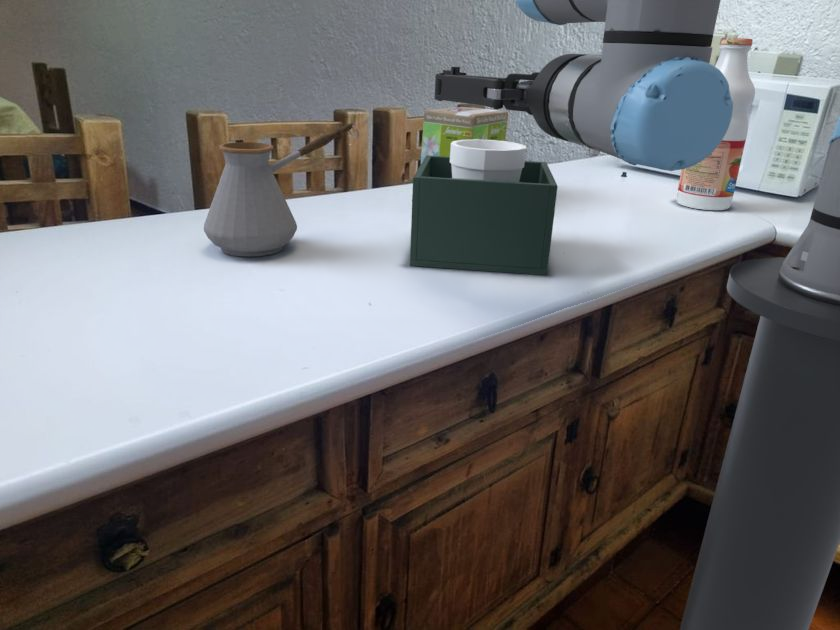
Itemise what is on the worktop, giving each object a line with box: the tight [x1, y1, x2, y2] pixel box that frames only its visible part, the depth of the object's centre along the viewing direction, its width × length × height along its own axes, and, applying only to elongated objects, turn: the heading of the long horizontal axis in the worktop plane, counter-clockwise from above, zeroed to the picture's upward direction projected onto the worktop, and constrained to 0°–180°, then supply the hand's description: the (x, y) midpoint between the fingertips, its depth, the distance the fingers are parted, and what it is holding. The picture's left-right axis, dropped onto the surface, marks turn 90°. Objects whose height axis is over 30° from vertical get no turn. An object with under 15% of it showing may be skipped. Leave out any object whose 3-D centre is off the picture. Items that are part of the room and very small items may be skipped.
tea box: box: [420, 106, 509, 164], centre depth 118 cm, size 15×10×15 cm
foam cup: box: [450, 139, 527, 182], centre depth 84 cm, size 10×9×13 cm
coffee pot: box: [203, 123, 360, 258], centre depth 84 cm, size 21×12×15 cm, turn 127°
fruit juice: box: [675, 37, 756, 211], centre depth 114 cm, size 9×9×28 cm
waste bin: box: [409, 155, 558, 276], centre depth 85 cm, size 17×17×11 cm
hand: (501, 84), depth 77 cm, fingers open, 13 cm apart
